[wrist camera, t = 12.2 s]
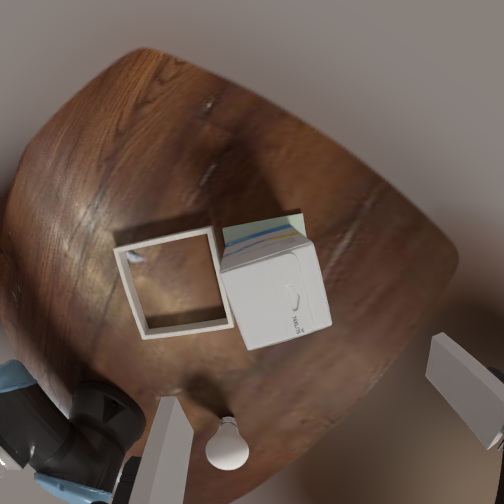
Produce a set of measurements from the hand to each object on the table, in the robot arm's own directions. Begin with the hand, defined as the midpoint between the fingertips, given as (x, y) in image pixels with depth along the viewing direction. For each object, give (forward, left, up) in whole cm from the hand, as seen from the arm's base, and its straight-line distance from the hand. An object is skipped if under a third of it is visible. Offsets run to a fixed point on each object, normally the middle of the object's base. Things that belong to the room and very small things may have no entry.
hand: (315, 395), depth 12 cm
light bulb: (-11, -26, -25) cm, 38 cm away
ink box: (0, 0, -24) cm, 24 cm away
